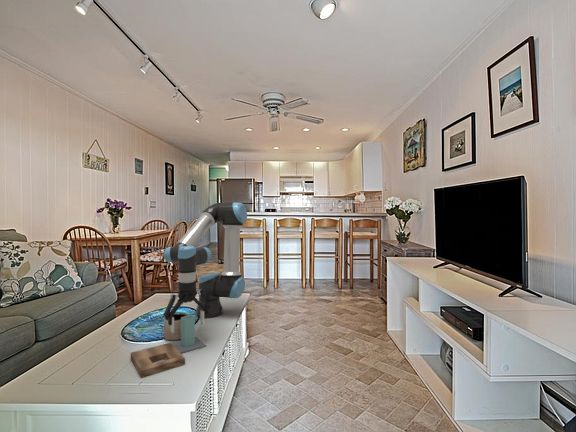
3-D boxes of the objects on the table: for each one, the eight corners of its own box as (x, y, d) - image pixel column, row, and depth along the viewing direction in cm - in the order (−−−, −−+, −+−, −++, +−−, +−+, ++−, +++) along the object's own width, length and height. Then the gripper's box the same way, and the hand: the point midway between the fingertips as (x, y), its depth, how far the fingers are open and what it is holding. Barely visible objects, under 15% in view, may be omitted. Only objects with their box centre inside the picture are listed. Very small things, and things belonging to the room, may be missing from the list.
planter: (158, 338, 148) (158, 318, 148) (176, 330, 158) (176, 311, 158) (175, 343, 143) (175, 322, 143) (192, 334, 153) (192, 315, 153)
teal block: (191, 341, 144) (190, 315, 144) (194, 344, 141) (194, 317, 140) (181, 343, 141) (181, 317, 141) (184, 347, 138) (184, 320, 138)
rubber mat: (195, 337, 149) (195, 336, 149) (206, 346, 140) (206, 345, 140) (170, 344, 142) (170, 343, 142) (178, 354, 133) (178, 352, 133)
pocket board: (170, 348, 138) (170, 342, 138) (184, 364, 124) (184, 358, 124) (130, 358, 129) (130, 352, 129) (141, 377, 114) (141, 370, 114)
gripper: (210, 275, 151) (210, 319, 151) (155, 283, 136) (156, 332, 136) (216, 278, 145) (217, 324, 145) (160, 287, 130) (161, 338, 130)
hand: (187, 328), depth 141 cm, fingers open, 13 cm apart
